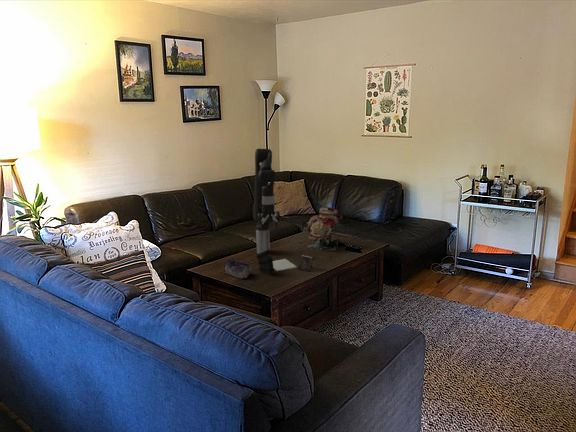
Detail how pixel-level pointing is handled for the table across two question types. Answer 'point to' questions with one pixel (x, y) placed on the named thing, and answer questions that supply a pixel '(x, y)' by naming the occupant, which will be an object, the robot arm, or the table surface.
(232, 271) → the geode
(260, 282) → the table surface
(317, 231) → the rose bouquet
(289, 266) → the sage mat
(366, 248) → the table surface
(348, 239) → the table surface
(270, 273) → the black red yellow block
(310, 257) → the portable electronic device stand
